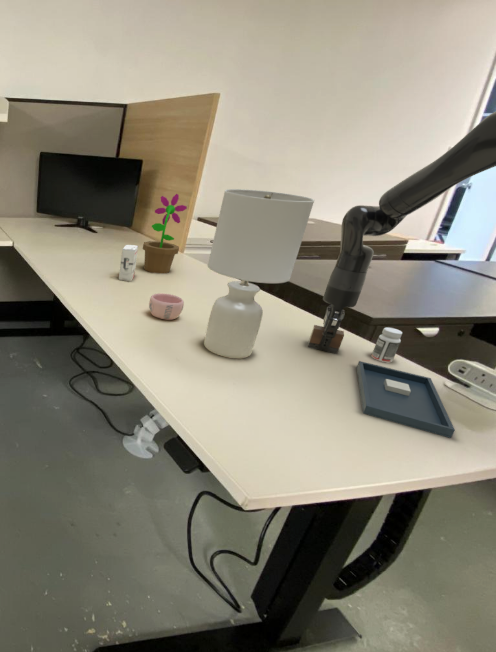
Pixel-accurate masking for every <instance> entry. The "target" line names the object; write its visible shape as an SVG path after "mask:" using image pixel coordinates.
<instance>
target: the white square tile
mask: <svg viewBox="0 0 496 652" xmlns="http://www.w3.org/2000/svg"><path fill="white" fill-rule="evenodd" d="M384 386H385V390H388V391H391V392H395V393H399V394H403V395H407V396H409V394H410V392H411V391H410V388H409V385H408V384H405V383H401V382H397V381H393V380H389V379H385V381H384Z"/></svg>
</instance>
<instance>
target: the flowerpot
mask: <svg viewBox="0 0 496 652" xmlns="http://www.w3.org/2000/svg"><path fill="white" fill-rule="evenodd" d="M179 196H180V195H179V194H178V193H176V194H174V195H173V196H172V198H171V200H170V201H169V200H168V198H167V197H166V196H164V195H161V197H160V202H161V204H162V205H163V206H164V207H158V208H156V209H154V213H155V214H157V215H162V214H165V215H164V216H163V218H162V220H161V221H162V222H161V223H160V222H155V223H154V224H152V225H151V228H152V229H153V230H154V231H155V232H162V233H161V238H160V241H158V240H157V241H154V240H153V241H152V240H151V241H150V240H149V241H143V244H142V250H144V263H143V266H144V267H143V270H145V272H148V273H153V274H167V273H170V270H171V267H172V265H173V262H174V259H175V256H176V255H178V254H179V252H180V251H179V250H180V246H178V245H176V244H174V243H170V242H166V241H174V240H175V238H174V237H173V236H172V235H169V234H165V233H166V228H167V224H168V223H169V221H170V219H171V218H172V220H173V221H174V223H176V224H180V223H181V217H180V216H179V214H178V213H176V212H179V213H180V212H183V211H185V210H187V206H188V205H187V206H186V205H184V204H180V205H177V204H178V201H179V199H180V198H179ZM175 205H176V206H175ZM165 207H166V208H165Z"/></svg>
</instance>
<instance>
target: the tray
mask: <svg viewBox="0 0 496 652" xmlns="http://www.w3.org/2000/svg"><path fill="white" fill-rule="evenodd" d="M355 369H356V375H357V382H358V388H359V396H360V400H361V401H360V402H361V409H362V414H364V415H368V416H370V417H375V418H377V419H381V420H385V421H389V422H392V423H395V424H398V425H402V426H403V425H404V426H406V427H410V428H413V429H416V430H421V431H425V432H427V433H430V434H434V435H437V436H442V437H445V438H449V439H452V437H453V435H454V433H455V431H456V429H455V427H454V424H453V423H452V421H451V419H450V417H449V414H448V412H447V410H446V408H445V405H444V404H443V401H442V399H441V397H440V395H439V393H438V391H437V389H436V387H435V384H434V382H433V380H432V378H431V377H427V376H423V375H419V374H415V373H412V372H407V371H402V370H399V369H394V368H390V367H386V366H382V365H378V364H373V363H369V362H365V361H361V360H358V362H357V364H356V368H355ZM385 379H389V380H393V381H397V382H401V383H405V384H408V385H409V388H410V391H411V392H410V394H409V396H407V395H403V394H399V393H395V392H391V391H388V390H385V386H384V381H385Z"/></svg>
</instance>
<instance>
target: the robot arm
mask: <svg viewBox="0 0 496 652" xmlns="http://www.w3.org/2000/svg"><path fill="white" fill-rule="evenodd" d="M495 167H496V111H494V112H491V113H490V114H489V115H487V116H486V117H484V118H483V119H482V120H481V121H480V122H479V123H478V124H477V125H476V126H475V127H474V128H472V129H471V130H470V131H469V132H468V133H466V135H464V136H463V138H461V139H460V140H459V141H458V142H457V143H456V144H455V145H453V146H452V147H451V148H449V150H447V151H446V152H445V153H444V154H442V155H440V156H439V157H438V158H436V159H435V160H434V161H432V162H430V163H429V164H427V165H426V166H424V167H422V168H421V169H419V170H417V171H415V172H413V174H411V175H409V176H408V177H406V178H405V179H403V180H401V181H400V182H398V183H397V184H395V185H394V186H393V187H391V188H389V189H388V190H386V191H385V192H384V193H383V194H382V195H381V196H380V198H379V200H378V205H363V204H360V205H358V204H357V205H355V206H352V207H351V208H350V209H348V211H346V213H345V214H344V216H343V218H342V221H341V229H340V234H341V235H340V249H339V254H338V256H337V259H336V262H335V265H334V268H333V269H332V271H331V273H330V276H329V279H328V282H327V285H326V287H325V291H324V294H323V296H322V300H323V301H324V302H325V303H327V304H329V305H328V306H327V307H326V310H325V315H324V318H323V323H322V324H323V326H322V327H325V329H324V332H323V333H322V334H323V336H322V339H321V341H320V344H319V348H320V349H324V350H328V348H329V345H330V343H331V340H332V338H334V336H335V334H336V332H337V330H340V329H339V328H340V326H341V323H342V320H344V318H345V309H344V308H354V307H356V306H357V303H358V301H359V298H360V295H361V292H362V290H363V288H364V285H365V282H366V279H367V274H368V270H369V269H370V266H371V263H372V260H373V258H374V257H373V256H374V253H375V252H374V249H373V248H372V247H371V246H368V245H365V244H364V237H379V236H383V235H386V234H388V233H390V232H391V231H393V230H394V229H395V228H396V227H397V226H398V225H400V223H402V222H403V221H404V219H405V218H406V217H407V216H408V215H411V214H412V213H414V212H416V211H418V210H419V209H421V208H423V207H424V206H426V205H428V204H429V203H431V202H433V201H434V200H437V199H438V198H439V197H440V196H442V195H443V194H445V193H446V192H447V191H449V190H450V189H451V188H453V187H454V186H456V185H458V184H460V183H462V182H464V181H465V180H467V179H469V178H471V177H473V176H476V175H478V174H480V173H482V172H484V171H487V170H491V169H492V168H495ZM328 330H332V331H333V332H327V331H328Z"/></svg>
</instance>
